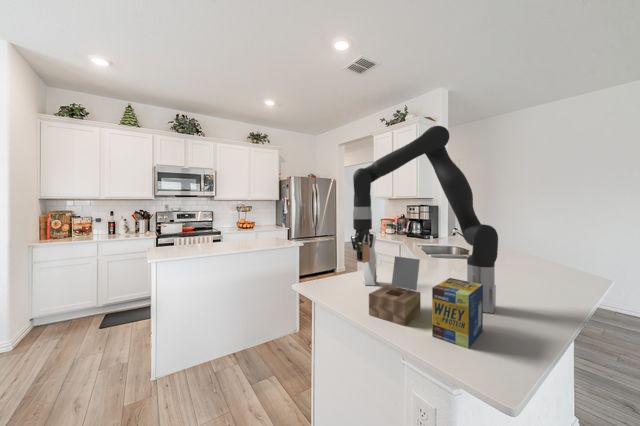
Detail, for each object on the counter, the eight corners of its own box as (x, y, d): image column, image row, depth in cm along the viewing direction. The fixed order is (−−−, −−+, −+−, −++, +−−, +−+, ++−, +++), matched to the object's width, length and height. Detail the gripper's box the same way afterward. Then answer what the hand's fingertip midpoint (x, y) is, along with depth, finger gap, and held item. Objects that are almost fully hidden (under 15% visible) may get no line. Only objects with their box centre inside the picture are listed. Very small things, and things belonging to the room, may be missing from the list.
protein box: (431, 336, 81) (431, 287, 81) (449, 321, 92) (449, 277, 91) (468, 349, 73) (468, 295, 73) (483, 331, 84) (483, 283, 84)
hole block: (420, 313, 99) (420, 292, 98) (404, 326, 88) (404, 302, 88) (386, 304, 108) (386, 285, 108) (368, 314, 98) (368, 293, 97)
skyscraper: (379, 286, 132) (379, 231, 131) (363, 286, 132) (363, 231, 131) (376, 282, 140) (376, 230, 140) (361, 282, 140) (360, 230, 140)
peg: (369, 261, 107) (369, 244, 107) (364, 262, 104) (364, 245, 104) (361, 259, 110) (361, 243, 110) (356, 261, 107) (355, 244, 107)
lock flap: (391, 285, 107) (392, 285, 107) (415, 290, 100) (416, 290, 101) (395, 256, 109) (396, 256, 110) (418, 259, 102) (419, 259, 103)
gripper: (360, 218, 99) (361, 263, 99) (379, 217, 109) (379, 258, 110) (344, 218, 104) (345, 261, 104) (364, 217, 114) (364, 256, 115)
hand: (362, 259), depth 107 cm, fingers closed on peg, 4 cm apart
